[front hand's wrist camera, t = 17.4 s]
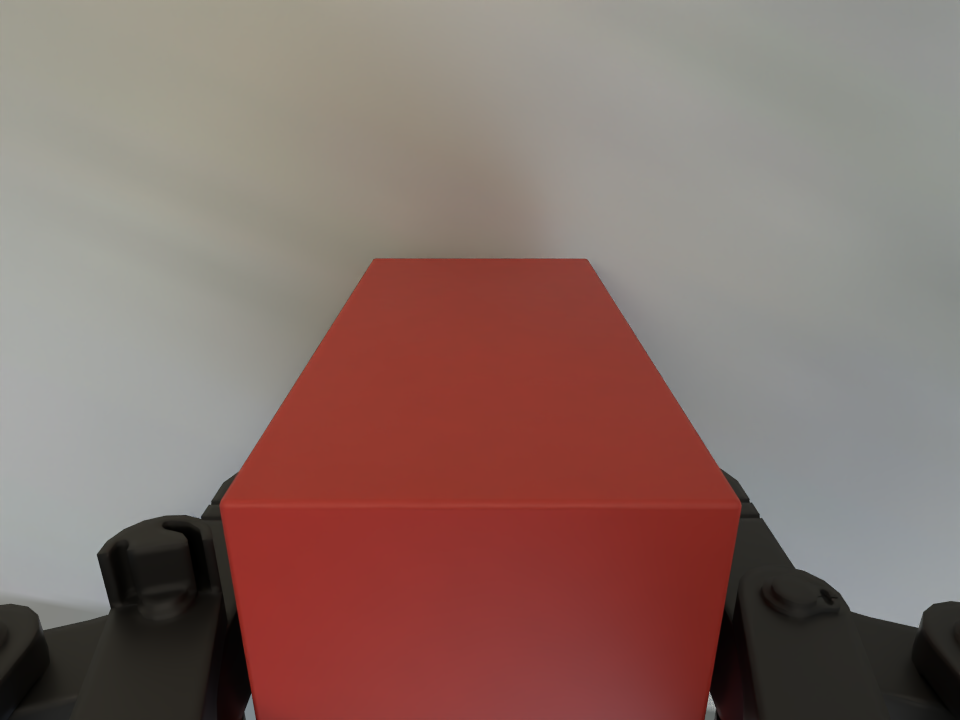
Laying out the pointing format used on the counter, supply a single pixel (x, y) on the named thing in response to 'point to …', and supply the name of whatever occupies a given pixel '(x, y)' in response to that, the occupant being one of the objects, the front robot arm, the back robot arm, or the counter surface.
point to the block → (480, 511)
